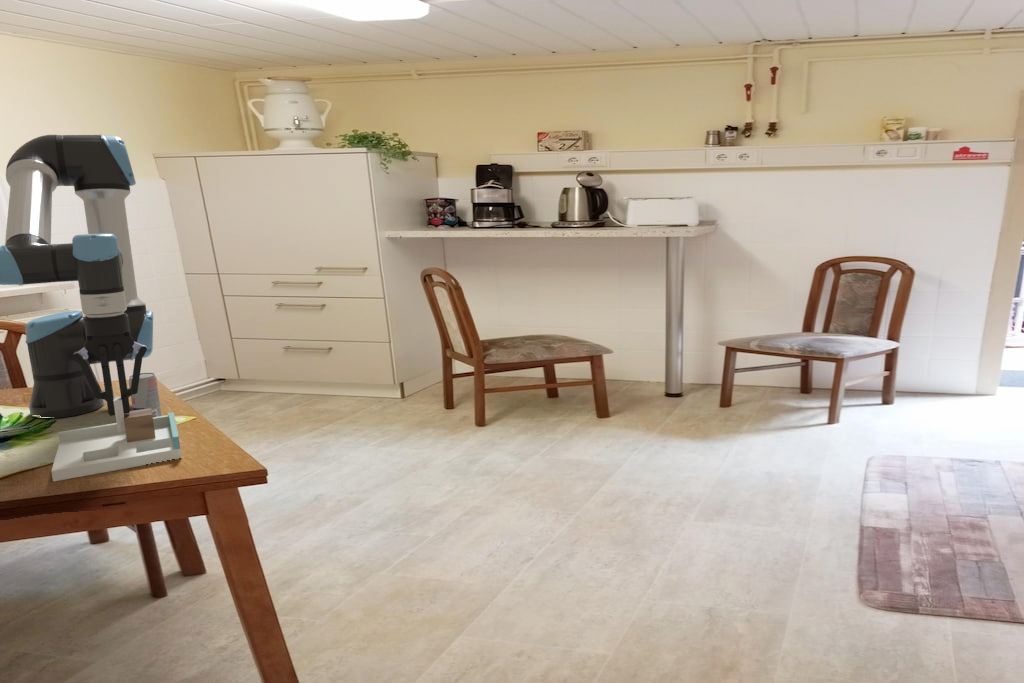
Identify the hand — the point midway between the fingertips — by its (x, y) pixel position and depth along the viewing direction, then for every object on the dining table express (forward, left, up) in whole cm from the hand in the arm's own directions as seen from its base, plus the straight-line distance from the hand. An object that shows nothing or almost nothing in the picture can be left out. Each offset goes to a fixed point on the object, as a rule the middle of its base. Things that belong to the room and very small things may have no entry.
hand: (122, 429), depth 139 cm
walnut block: (0, +3, -2) cm, 4 cm away
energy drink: (-12, +5, -4) cm, 13 cm away
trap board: (+3, -1, -4) cm, 5 cm away
